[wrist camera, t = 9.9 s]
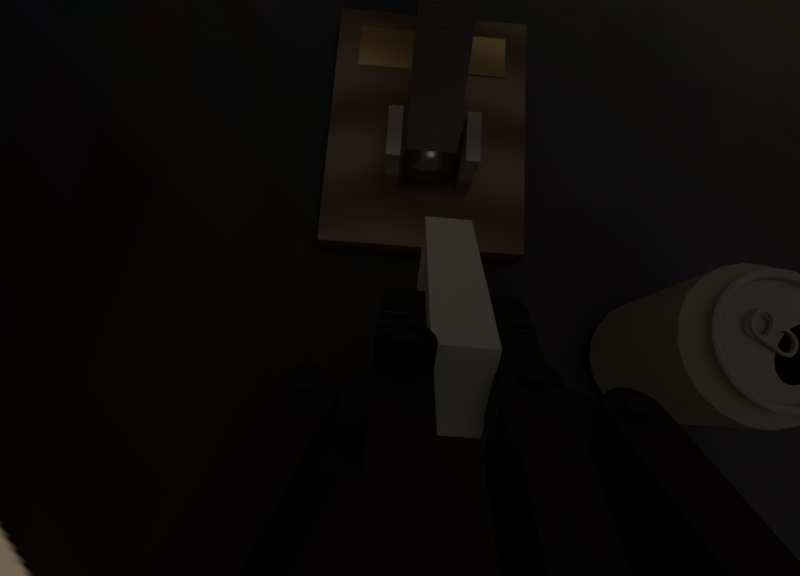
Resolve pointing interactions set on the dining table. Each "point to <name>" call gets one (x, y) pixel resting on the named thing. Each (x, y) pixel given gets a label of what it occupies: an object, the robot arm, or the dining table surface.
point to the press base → (386, 132)
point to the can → (710, 348)
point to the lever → (438, 87)
